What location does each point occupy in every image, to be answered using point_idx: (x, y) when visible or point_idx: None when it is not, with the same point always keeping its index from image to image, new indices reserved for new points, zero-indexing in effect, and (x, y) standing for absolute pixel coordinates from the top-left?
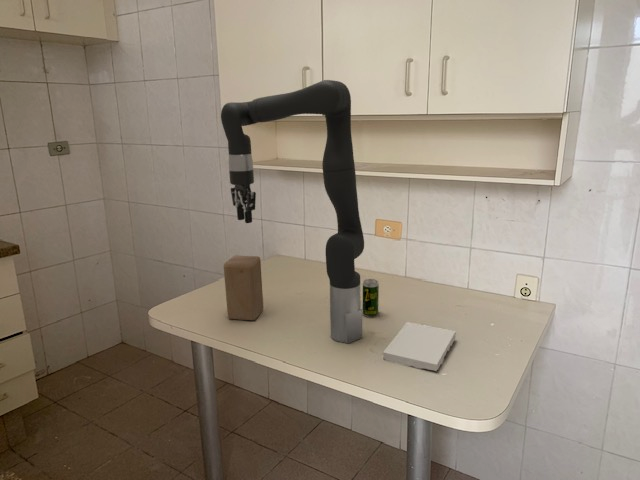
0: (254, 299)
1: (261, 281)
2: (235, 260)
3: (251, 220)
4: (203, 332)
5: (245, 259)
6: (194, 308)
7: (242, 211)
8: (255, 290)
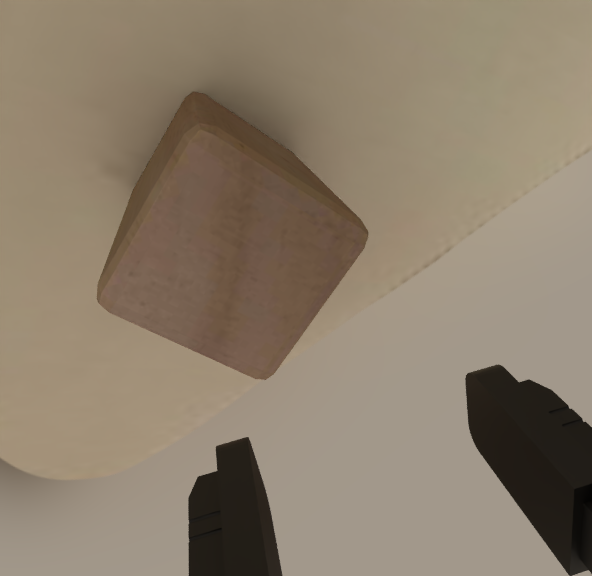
0: (311, 171)
1: (213, 110)
2: (240, 315)
3: (541, 389)
4: (304, 338)
5: (247, 251)
6: (77, 359)
7: (272, 554)
8: (302, 168)
